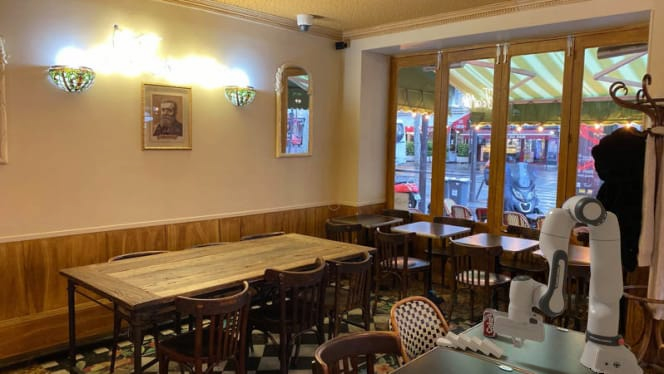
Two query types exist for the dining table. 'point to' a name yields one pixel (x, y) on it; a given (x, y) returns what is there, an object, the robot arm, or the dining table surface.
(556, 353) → the dining table surface
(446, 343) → the domino
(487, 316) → the soda can
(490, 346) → the domino
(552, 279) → the robot arm
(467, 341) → the domino
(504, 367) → the dining table surface
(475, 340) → the domino
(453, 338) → the domino
